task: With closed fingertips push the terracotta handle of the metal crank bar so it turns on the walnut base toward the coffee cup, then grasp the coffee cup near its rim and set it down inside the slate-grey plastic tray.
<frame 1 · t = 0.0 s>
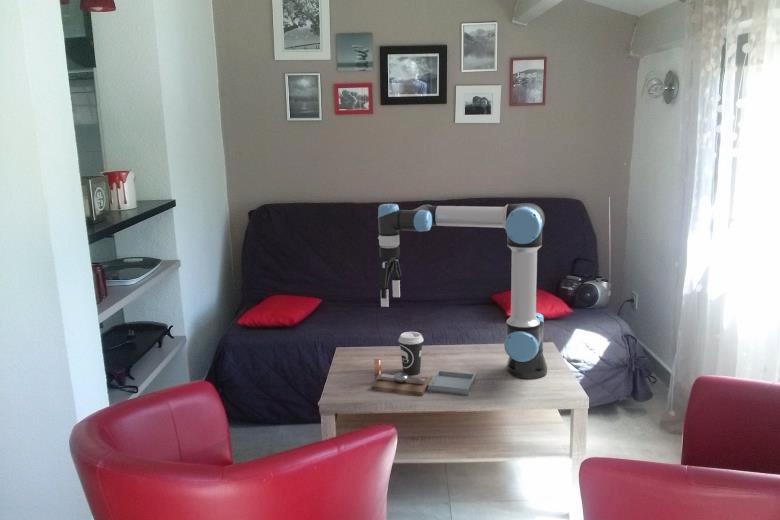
hand: (390, 301, 238), 28 cm above the table, fingers open, 13 cm apart
crank: (399, 371, 230), point 5 cm above the table, hinge at 0.0°
crank base: (402, 386, 230), on the table
tray: (452, 385, 229), on the table
coffee cup: (411, 372, 243), on the table
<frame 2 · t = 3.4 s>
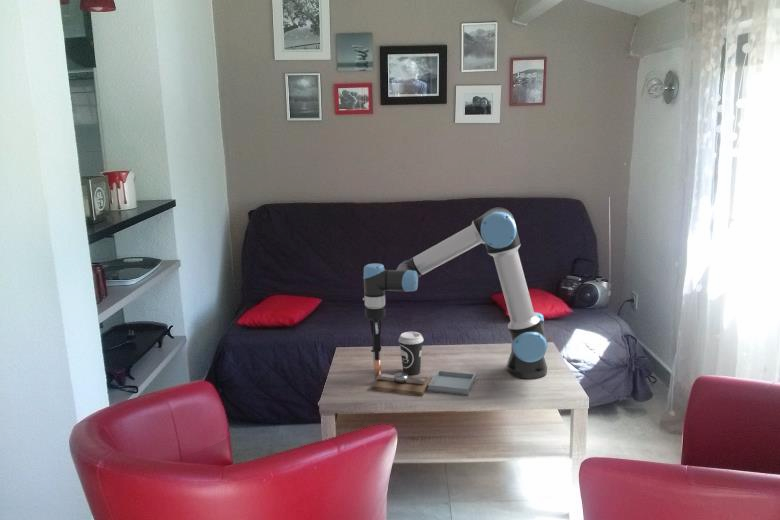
hand: (376, 367, 236), 5 cm above the table, fingers closed
crank: (399, 371, 230), point 5 cm above the table, hinge at 0.0°, touching gripper
everything else where it was.
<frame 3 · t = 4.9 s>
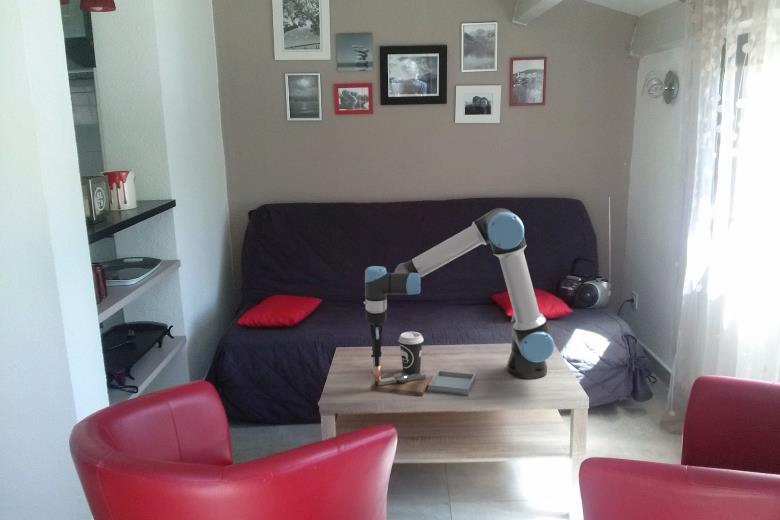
hand: (376, 372, 229), 6 cm above the table, fingers closed
crank: (399, 371, 229), point 5 cm above the table, hinge at 37.5°, touching gripper
everything else where it was.
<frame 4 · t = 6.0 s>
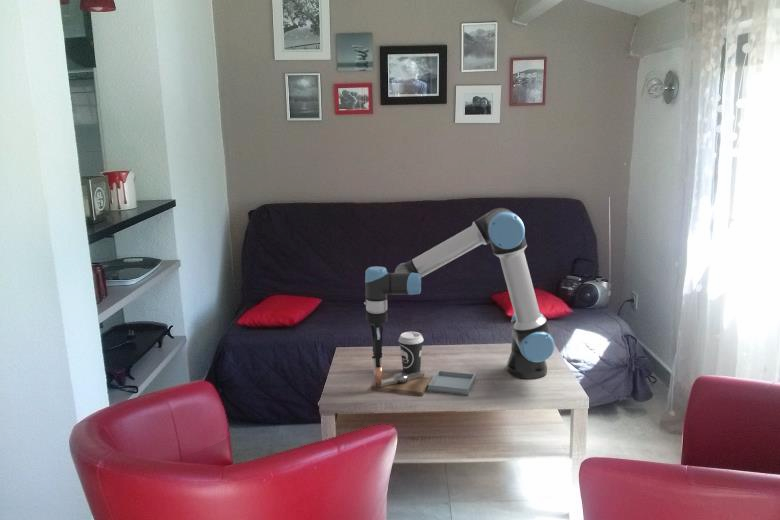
hand: (377, 373, 228), 6 cm above the table, fingers closed
crank: (399, 371, 229), point 5 cm above the table, hinge at 46.9°, touching gripper
everything else where it was.
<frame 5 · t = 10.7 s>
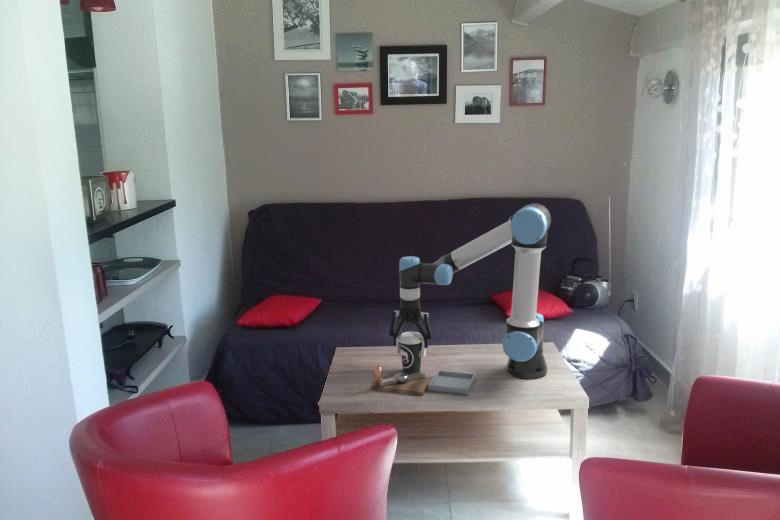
hand: (411, 354, 241), 7 cm above the table, fingers closed on coffee cup, 9 cm apart
crank: (399, 371, 229), point 5 cm above the table, hinge at 43.3°
coffee cup: (411, 372, 243), on the table, touching gripper
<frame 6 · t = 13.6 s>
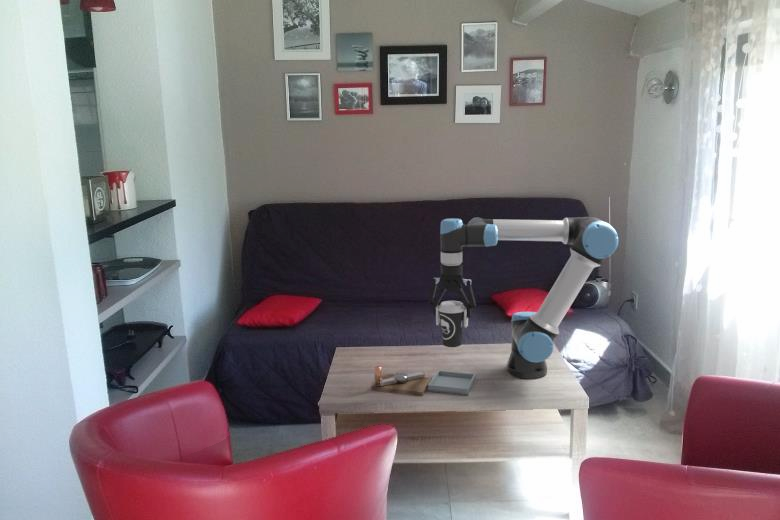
hand: (452, 325, 224), 23 cm above the table, fingers closed on coffee cup, 9 cm apart
coffee cup: (452, 344, 226), point 16 cm above the table, touching gripper
everything else where it was.
when the fingers open (9 cm above the table, at t = 16.5 s): coffee cup drops 1 cm, resting on tray.
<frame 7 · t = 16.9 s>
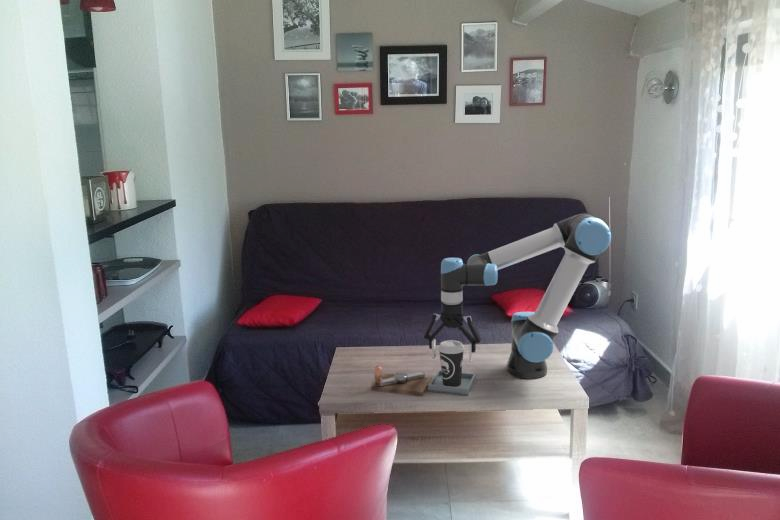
hand: (452, 359, 227), 10 cm above the table, fingers open, 13 cm apart
coffee cup: (451, 383, 229), point 1 cm above the table, touching tray
everything else where it was.
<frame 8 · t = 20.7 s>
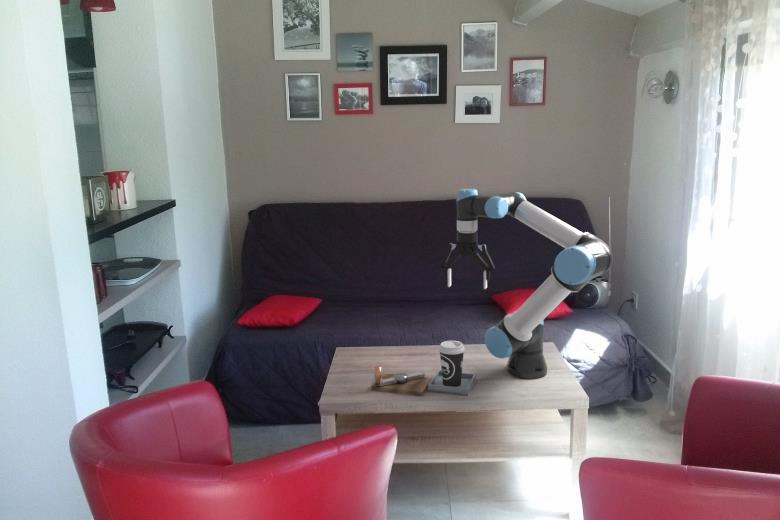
hand: (467, 287, 237), 33 cm above the table, fingers open, 13 cm apart
nothing on the table moved.
at the end: crank at +43° (first picture: +0°); coffee cup inside the target area on the tray (0.2 cm from its centre), point 0.6 cm above the tray's base; coffee cup tilted 0° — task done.
